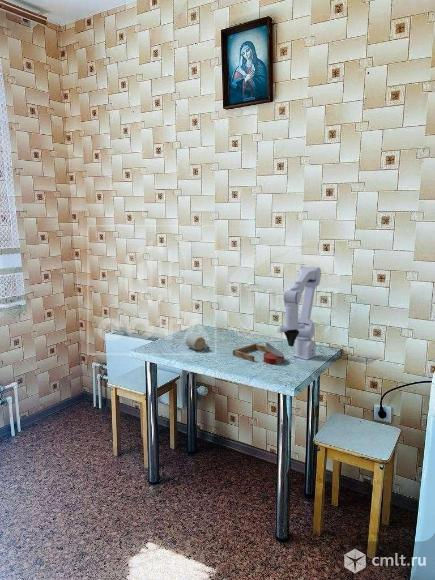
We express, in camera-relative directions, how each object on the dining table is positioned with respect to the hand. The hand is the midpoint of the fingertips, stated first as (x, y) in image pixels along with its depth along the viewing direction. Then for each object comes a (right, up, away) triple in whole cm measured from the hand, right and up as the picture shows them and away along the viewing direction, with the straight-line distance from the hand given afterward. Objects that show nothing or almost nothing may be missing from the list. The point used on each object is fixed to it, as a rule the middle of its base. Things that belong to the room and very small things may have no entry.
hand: (291, 345), depth 200 cm
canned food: (-7, -9, +9) cm, 14 cm away
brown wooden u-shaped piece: (-15, -7, +18) cm, 24 cm away
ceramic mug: (-44, -5, +29) cm, 53 cm away
